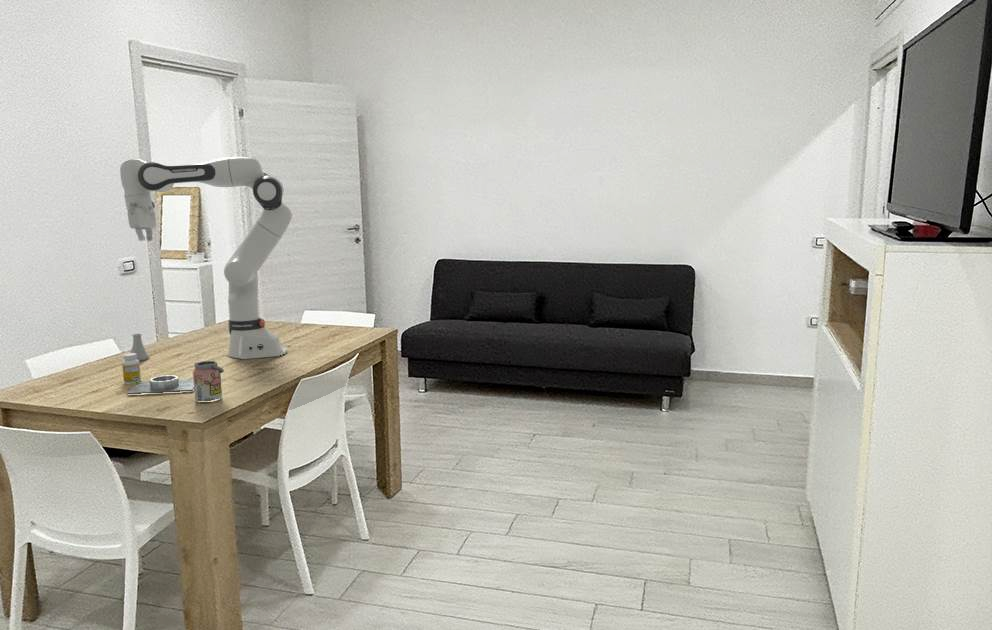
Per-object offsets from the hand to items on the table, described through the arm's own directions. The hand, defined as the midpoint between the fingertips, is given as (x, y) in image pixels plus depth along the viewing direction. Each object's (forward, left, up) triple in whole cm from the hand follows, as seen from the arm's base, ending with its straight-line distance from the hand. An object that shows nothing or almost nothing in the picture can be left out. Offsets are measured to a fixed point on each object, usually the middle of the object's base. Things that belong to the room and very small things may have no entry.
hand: (146, 240), depth 296 cm
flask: (+7, -3, -46) cm, 47 cm away
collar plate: (-12, +44, -46) cm, 65 cm away
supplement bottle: (+1, +32, -46) cm, 56 cm away
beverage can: (-29, +61, -46) cm, 82 cm away
